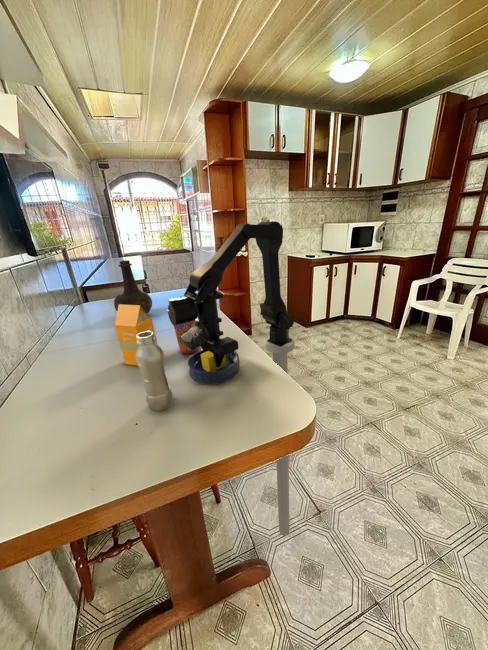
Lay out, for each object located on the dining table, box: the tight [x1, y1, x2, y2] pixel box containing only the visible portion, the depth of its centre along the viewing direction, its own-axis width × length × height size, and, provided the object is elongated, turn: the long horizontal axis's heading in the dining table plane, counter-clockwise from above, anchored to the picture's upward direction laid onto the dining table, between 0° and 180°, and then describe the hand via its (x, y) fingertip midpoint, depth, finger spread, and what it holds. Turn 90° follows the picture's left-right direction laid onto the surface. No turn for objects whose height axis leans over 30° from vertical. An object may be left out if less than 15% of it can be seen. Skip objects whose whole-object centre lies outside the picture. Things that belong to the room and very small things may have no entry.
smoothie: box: [173, 296, 199, 354], centre depth 93 cm, size 8×8×20 cm
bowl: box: [187, 349, 241, 385], centre depth 81 cm, size 15×15×4 cm
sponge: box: [201, 351, 226, 372], centre depth 80 cm, size 6×4×5 cm, turn 131°
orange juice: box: [113, 304, 158, 367], centre depth 88 cm, size 8×9×20 cm
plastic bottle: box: [135, 331, 174, 412], centre depth 65 cm, size 6×7×20 cm
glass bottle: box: [113, 260, 153, 314], centre depth 132 cm, size 18×18×28 cm
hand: (214, 364), depth 81 cm, fingers closed on sponge, 4 cm apart
